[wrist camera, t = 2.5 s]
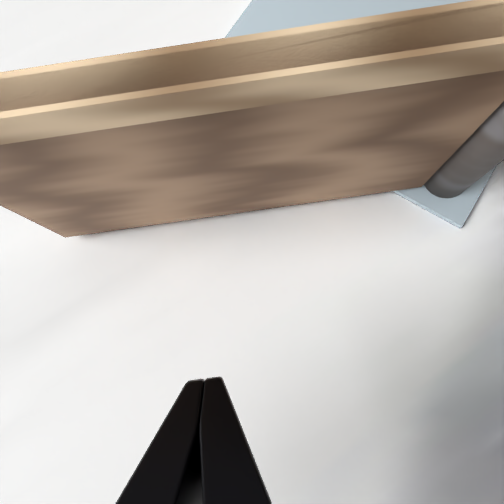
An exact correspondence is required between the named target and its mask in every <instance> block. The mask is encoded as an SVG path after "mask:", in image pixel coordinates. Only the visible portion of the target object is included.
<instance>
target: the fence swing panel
mask: <svg viewBox="0 0 504 504" xmlns="http://www.w3.org/2000/svg"><path fill="white" fill-rule="evenodd" d="M503 101H504V0H472V1H465V2H458V3H452V4H445V5H439V6H432V7H426V8H419V9H412V10H406V11H399V12H393V13H386V14H380V15H373V16H367V17H360V18H353V19H347V20H340V21H334V22H327V23H321V24H314V25H308V26H301V27H294V28H288V29H281V30H275V31H268V32H262V33H255V34H249V35H242V36H235V37H229V38H222V39H216V40H209V41H203V42H196V43H190V44H183V45H176V46H170V47H163V48H157V49H150V50H144V51H137V52H131V53H124V54H117V55H111V56H104V57H98V58H91V59H85V60H78V61H72V62H65V63H58V64H52V65H45V66H39V67H32V68H26V69H19V70H13V71H6V72H0V206H3V207H5V208H7V209H9V210H11V211H13V212H15V213H17V214H19V215H21V216H23V217H25V218H27V219H29V220H31V221H33V222H35V223H37V224H39V225H41V226H43V227H45V228H47V229H49V230H51V231H53V232H55V233H57V234H59V235H61V236H63V237H71V236H78V235H85V234H92V233H100V232H107V231H114V230H121V229H128V228H135V227H142V226H149V225H156V224H163V223H170V222H177V221H184V220H192V219H199V218H206V217H213V216H220V215H227V214H234V213H241V212H248V211H255V210H262V209H269V208H276V207H283V206H291V205H298V204H305V203H312V202H319V201H326V200H333V199H340V198H347V197H354V196H361V195H368V194H375V193H383V192H390V191H397V190H404V189H411V188H418V187H422V186H423V185H424V184H425V183H426V182H427V181H428V180H429V179H430V177H431V176H432V175H433V174H434V173H435V172H436V171H437V170H438V169H439V168H440V167H441V166H442V165H443V164H444V163H445V162H446V161H447V160H448V159H449V158H450V157H451V156H452V155H453V153H454V152H455V151H456V150H457V149H458V148H459V147H460V146H461V145H462V144H463V143H464V142H465V141H466V140H467V139H468V138H469V137H470V136H471V135H472V134H473V133H474V132H475V131H476V129H477V128H478V127H479V126H480V125H481V124H482V123H483V122H484V121H485V120H486V119H487V118H488V117H489V116H490V115H491V114H492V113H493V112H494V111H495V110H496V109H497V108H498V107H499V105H500V104H501V103H502V102H503Z"/></svg>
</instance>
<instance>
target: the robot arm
mask: <svg viewBox="0 0 504 504" xmlns="http://www.w3.org/2000/svg"><path fill="white" fill-rule="evenodd" d="M116 504H272V503H271V500H270V497H269V495H268V492H267V490H266V487H265V485H264V482H263V480H262V477H261V475H260V472H259V470H258V467H257V464H256V462H255V459H254V457H253V454H252V452H251V449H250V447H249V444H248V442H247V439H246V437H245V434H244V432H243V429H242V426H241V424H240V421H239V419H238V416H237V414H236V411H235V409H234V406H233V404H232V401H231V399H230V396H229V393H228V391H227V388H226V386H225V383H224V381H223V379H222V377H212V378H207V379H206V380H204V379H197V380H190V381H188V382H187V383H186V384H185V386H184V387H183V389H182V391H181V393H180V394H179V396H178V398H177V399H176V401H175V403H174V405H173V406H172V408H171V410H170V411H169V413H168V415H167V417H166V418H165V420H164V422H163V423H162V425H161V427H160V428H159V430H158V432H157V434H156V435H155V437H154V439H153V440H152V442H151V444H150V446H149V447H148V449H147V451H146V452H145V454H144V456H143V458H142V459H141V461H140V463H139V464H138V466H137V468H136V470H135V471H134V473H133V475H132V476H131V478H130V480H129V482H128V483H127V485H126V487H125V488H124V490H123V492H122V493H121V495H120V497H119V499H118V500H117V502H116Z"/></svg>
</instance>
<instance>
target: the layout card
mask: <svg viewBox="0 0 504 504" xmlns="http://www.w3.org/2000/svg"><path fill="white" fill-rule="evenodd" d="M465 1H472V0H252V1H251V3H250V4H249V5H248V7H247V8H246V10H245V11H244V12H243V14H242V15H241V16H240V18H239V19H238V20H237V22H236V23H235V25H234V26H233V27H232V29H231V30H230V31H229V33H228V34H227V35H226V37H225V38H229V37H235V36H242V35H249V34H255V33H262V32H268V31H275V30H281V29H288V28H294V27H301V26H308V25H314V24H321V23H327V22H334V21H340V20H347V19H353V18H360V17H367V16H373V15H380V14H386V13H393V12H399V11H406V10H412V9H419V8H426V7H432V6H439V5H445V4H452V3H458V2H465ZM495 167H496V166H495ZM495 167H494V168H493V169H492V170H490V171H489V172H488V173H486V174H485V175H484V176H483V177H481V178H480V179H479V180H478V181H476V182H475V183H474V184H472V185H471V186H470V187H469V188H467V189H466V190H465V191H464V192H462V193H461V194H460V195H458V196H456V197H453V198H440V197H437V196H435V195H433V194H431V193H430V192H429V191H428V190H427V189H426V187H425V186H424V185H423V186H422V187H418V188H411V189H404V190H397V191H392V192H394V193H396V194H398V195H400V196H402V197H403V198H405V199H407V200H409V201H411V202H412V203H414V204H416V205H418V206H420V207H422V208H423V209H425V210H427V211H429V212H431V213H433V214H434V215H436V216H438V217H440V218H442V219H444V220H445V221H447V222H449V223H451V224H453V225H454V226H456V227H458V228H461V227H462V226H463V225H464V223H465V221H466V219H467V218H468V216H469V214H470V212H471V210H472V209H473V207H474V205H475V203H476V201H477V200H478V198H479V196H480V194H481V192H482V191H483V189H484V187H485V185H486V183H487V182H488V180H489V178H490V176H491V175H492V173H493V171H494V169H495Z"/></svg>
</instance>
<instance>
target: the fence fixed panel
mask: <svg viewBox="0 0 504 504" xmlns="http://www.w3.org/2000/svg"><path fill="white" fill-rule="evenodd" d="M503 160H504V101H503V102H502V103H501V104H500V105H499V107H498V108H497V109H496V110H495V111H494V112H493V113H492V114H491V115H490V116H489V117H488V118H487V119H486V120H485V121H484V122H483V123H482V124H481V125H480V126H479V127H478V128H477V129H476V131H475V132H474V133H473V134H472V135H471V136H470V137H469V138H468V139H467V140H466V141H465V142H464V143H463V144H462V145H461V146H460V147H459V148H458V149H457V150H456V151H455V152H454V153H453V155H452V156H451V157H450V158H449V159H448V160H447V161H446V162H445V163H444V164H443V165H442V166H441V167H440V168H439V169H438V170H437V171H436V172H435V173H434V174H433V175H432V176H431V177H430V179H429V180H428V181H427V182H426V183H425V184H424V186H425V187H426V189H427V190H428V191H429V192H430V193H431V194H433V195H435V196H437V197H440V198H453V197H456V196H458V195H460V194H461V193H462V192H464V191H465V190H466V189H467V188H469V187H470V186H471V185H472V184H474V183H475V182H476V181H478V180H479V179H480V178H481V177H483V176H484V175H485V174H486V173H488V172H489V171H490V170H492V169H493V168H494V167H495V166H497V165H498V164H499V163H500V162H502V161H503Z"/></svg>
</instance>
